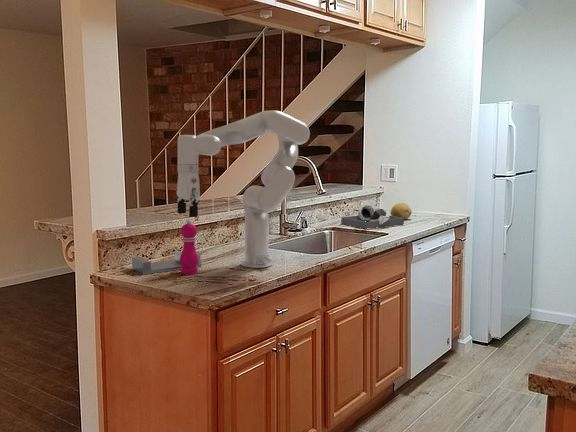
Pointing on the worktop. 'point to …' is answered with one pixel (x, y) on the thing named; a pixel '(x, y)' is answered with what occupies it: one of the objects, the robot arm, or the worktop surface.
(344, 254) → the worktop surface
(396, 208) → the potato
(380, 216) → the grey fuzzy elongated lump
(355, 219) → the bucket tray
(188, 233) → the pepper mill
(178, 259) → the jaw
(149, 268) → the vise
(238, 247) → the worktop surface
